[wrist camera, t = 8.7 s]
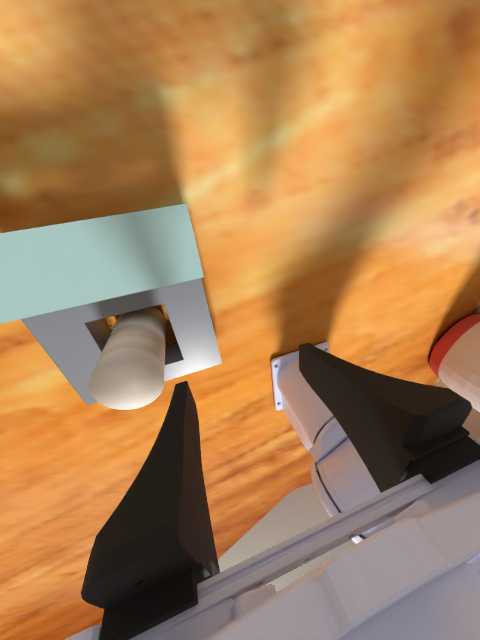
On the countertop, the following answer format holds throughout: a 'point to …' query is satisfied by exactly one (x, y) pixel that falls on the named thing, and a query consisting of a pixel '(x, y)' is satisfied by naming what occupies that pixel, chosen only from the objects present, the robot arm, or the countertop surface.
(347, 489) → the robot arm
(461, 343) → the citrus juicer
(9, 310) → the socket block
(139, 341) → the peg
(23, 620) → the countertop surface
